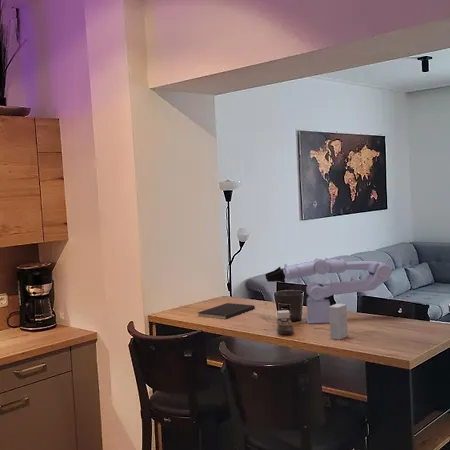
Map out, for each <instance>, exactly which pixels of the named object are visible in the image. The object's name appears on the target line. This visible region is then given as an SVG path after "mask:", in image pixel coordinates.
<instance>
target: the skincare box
mask: <svg viewBox="0 0 450 450" xmlns="http://www.w3.org/2000/svg"><path fill="white" fill-rule="evenodd" d="M347 312H348V309H347V304H345V303H335V304H332V305H330V306H329V317H330V322H329V332H330V336H329V337H330V339H331V340H338V339H339V340H340V339H341V340H343V339H345V338H346V337H349V332H348V331H349V330H348V328H349V327H348V313H347ZM339 340H338V341H339Z"/></svg>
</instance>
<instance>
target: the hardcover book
mask: <svg viewBox="0 0 450 450" xmlns="http://www.w3.org/2000/svg"><path fill="white" fill-rule="evenodd" d="M253 309H254V310H255V309H256V306H255V305H254V304H243V303H230V302H227V303H223V304H219V305H217V306H214V307H211V308H208V309H204V310H202V311H199V312H197V314H198V317H202V318H210V319H211V318H212V319H219V320H229V319H232V318H234V317H237V316H240V315H243V314H245V312H246V313H248V312H251V311H253ZM242 313H243V314H242ZM239 314H240V315H239ZM231 317H232V318H231Z"/></svg>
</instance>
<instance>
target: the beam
mask: <svg viewBox="0 0 450 450" xmlns="http://www.w3.org/2000/svg"><path fill="white" fill-rule="evenodd" d="M276 321H277V322H276V323H277V326H276V332H277V334H279V335H280V334H283V335H284V334H294V326H293V322H292V320H291V317H290V318H287V321H281V319H278V317H276Z"/></svg>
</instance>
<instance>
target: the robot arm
mask: <svg viewBox="0 0 450 450" xmlns="http://www.w3.org/2000/svg"><path fill="white" fill-rule="evenodd" d="M347 270H349V271H350V270H357V271H358V270H360V271H361V270H363V271H365V270H366V271H368V272H369V273H368V275H367V277H366V278H363V279H354V280H348V281H347V280H346V281H339V282H337V281H336V282H330V283H325V282H324V283H322V282H320V283H318V282H316V281H314V282H310V283H308V284H307V286H306V287H305V288H306V289H305V291H306V294H307V295H308V296H307V298H306V311H307V312H306V313H307V317H306V318H305V320H306V322H307V324H323V323H326V324H327V323H329V324H330V317H329V306H331V302H330V299H326V298H328V297H331V296H335V295H336V296H337V295H344V294H352V293H360V292H366V291H367V292H368V291H373V290H375V289H377V288H378V287H380V286H381V285H382V284H383V283H386V282H388V281H389V279H390V278H391V275H392V272H393V271H392V268H391V266H390V265H389V264H387V263H384V262H382V261H379V260H378V261H377V260H358V261H357V260H354V261H345V259H343V258H341V257H336V258H327V257H325V258H324V259H323V258H315V259H314V260H312V261H307V262H302V263H296V264H293V265H287V263H284V269H283V268H282V267H281V266H278V267H277V268H275V269H274V270H272V271H270V272H268V273H266V274H265V280H266V281H267V282H270V283H271V282H276V283H278V282H280V283H283V284H285V283H286V280H287V281H288V282H290V281H291V280H296V279H301V278H304V277H310V276H313V275H317V274H319V275H325V274H341V273H343V274H344V273H345V271H347ZM285 279H286V280H285Z"/></svg>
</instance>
